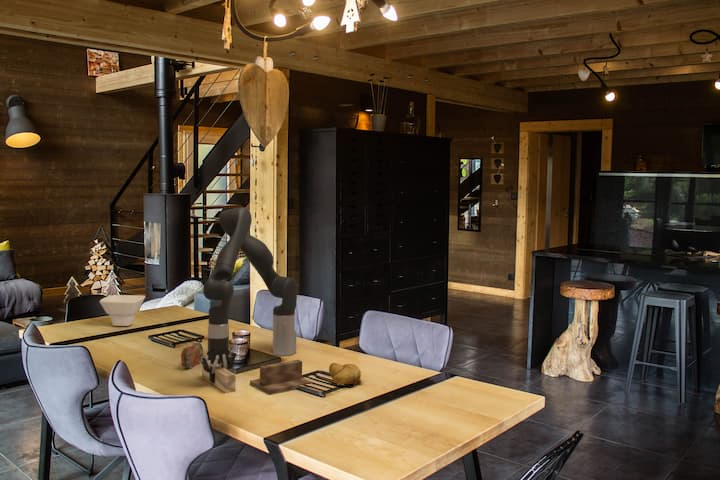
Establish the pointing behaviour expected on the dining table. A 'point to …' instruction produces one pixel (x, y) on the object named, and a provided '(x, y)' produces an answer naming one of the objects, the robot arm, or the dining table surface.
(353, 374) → the bread roll
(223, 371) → the oak bar
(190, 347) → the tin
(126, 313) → the bowl
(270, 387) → the stand
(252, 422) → the dining table surface
